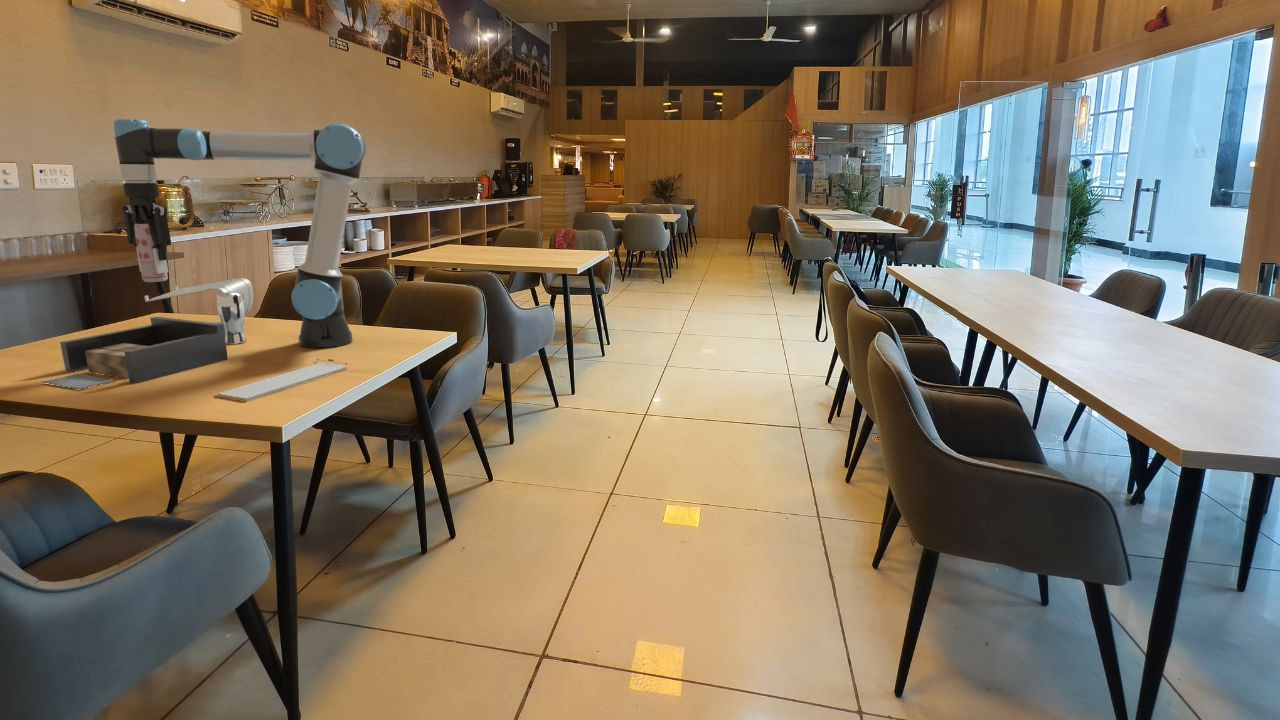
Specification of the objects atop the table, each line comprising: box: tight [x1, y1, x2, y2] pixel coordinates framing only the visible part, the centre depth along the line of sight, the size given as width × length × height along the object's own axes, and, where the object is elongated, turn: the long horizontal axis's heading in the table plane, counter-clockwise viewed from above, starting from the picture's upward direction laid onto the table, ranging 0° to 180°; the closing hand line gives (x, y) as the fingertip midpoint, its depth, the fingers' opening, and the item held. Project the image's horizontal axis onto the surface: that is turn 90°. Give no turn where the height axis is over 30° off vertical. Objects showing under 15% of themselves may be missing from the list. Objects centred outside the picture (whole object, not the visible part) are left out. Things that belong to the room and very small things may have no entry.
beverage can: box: [134, 223, 169, 283], centre depth 192 cm, size 6×6×15 cm
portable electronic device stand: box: [143, 277, 255, 324], centre depth 236 cm, size 26×24×16 cm
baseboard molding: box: [213, 358, 348, 402], centre depth 182 cm, size 31×3×12 cm
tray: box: [60, 316, 229, 385], centre depth 193 cm, size 26×26×10 cm
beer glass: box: [216, 292, 247, 345], centre depth 220 cm, size 7×7×15 cm
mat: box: [41, 373, 115, 389], centre depth 178 cm, size 14×8×1 cm, turn 69°
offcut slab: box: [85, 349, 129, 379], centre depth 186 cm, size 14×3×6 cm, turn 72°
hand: (154, 271), depth 193 cm, fingers closed on beverage can, 6 cm apart
